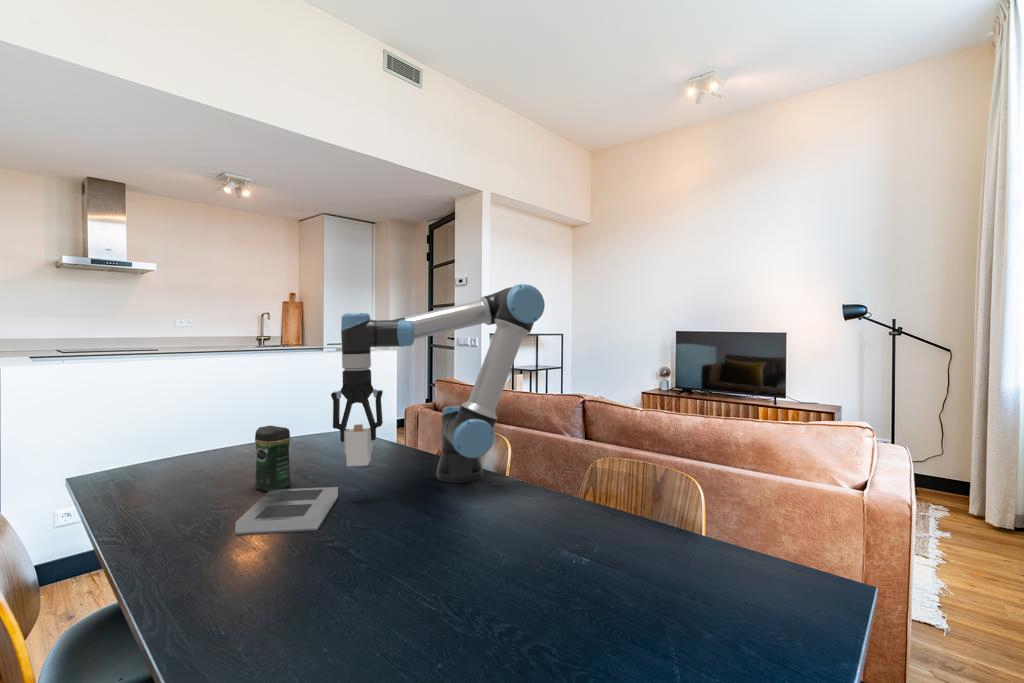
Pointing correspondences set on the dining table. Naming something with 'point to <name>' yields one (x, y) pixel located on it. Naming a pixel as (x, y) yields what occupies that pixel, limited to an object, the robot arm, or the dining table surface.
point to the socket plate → (288, 511)
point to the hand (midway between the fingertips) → (358, 452)
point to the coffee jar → (272, 458)
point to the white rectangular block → (357, 446)
